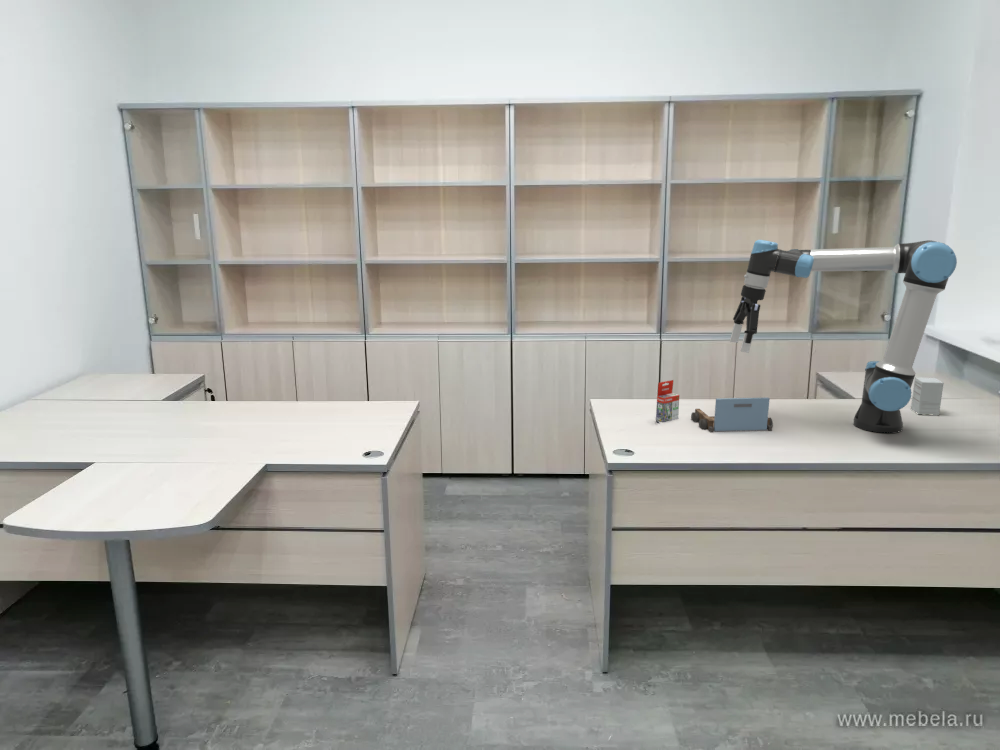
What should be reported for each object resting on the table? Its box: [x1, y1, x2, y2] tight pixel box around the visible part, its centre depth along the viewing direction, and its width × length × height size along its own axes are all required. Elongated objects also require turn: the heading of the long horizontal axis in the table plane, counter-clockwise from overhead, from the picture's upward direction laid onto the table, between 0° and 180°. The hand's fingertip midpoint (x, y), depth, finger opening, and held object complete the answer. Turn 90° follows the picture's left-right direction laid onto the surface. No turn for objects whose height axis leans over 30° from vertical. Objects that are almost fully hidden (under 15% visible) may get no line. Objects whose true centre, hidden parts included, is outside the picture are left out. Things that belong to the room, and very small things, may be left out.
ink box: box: [655, 379, 680, 424], centre depth 251 cm, size 4×8×15 cm, turn 123°
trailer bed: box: [690, 408, 774, 433], centre depth 247 cm, size 16×24×4 cm, turn 94°
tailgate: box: [713, 397, 770, 433], centre depth 239 cm, size 1×18×12 cm, turn 94°
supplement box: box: [910, 377, 945, 416], centre depth 262 cm, size 7×7×13 cm
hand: (738, 346), depth 246 cm, fingers open, 13 cm apart
